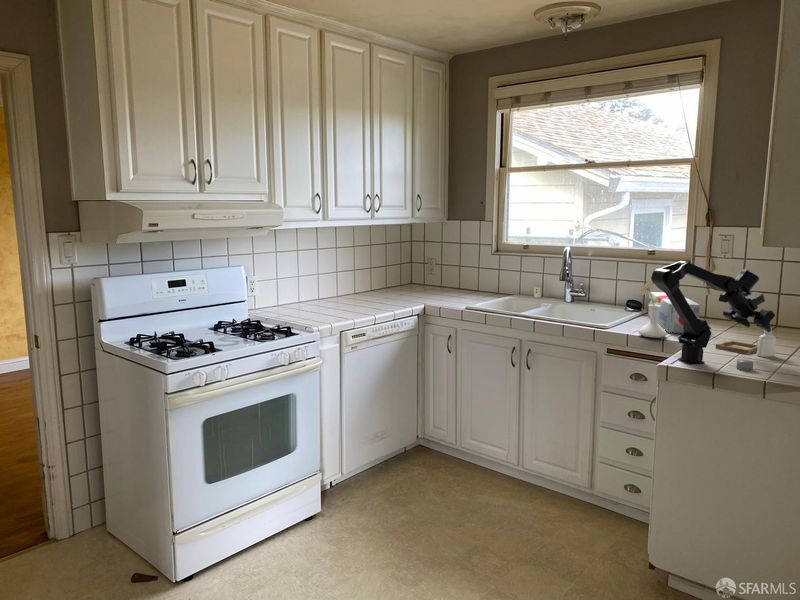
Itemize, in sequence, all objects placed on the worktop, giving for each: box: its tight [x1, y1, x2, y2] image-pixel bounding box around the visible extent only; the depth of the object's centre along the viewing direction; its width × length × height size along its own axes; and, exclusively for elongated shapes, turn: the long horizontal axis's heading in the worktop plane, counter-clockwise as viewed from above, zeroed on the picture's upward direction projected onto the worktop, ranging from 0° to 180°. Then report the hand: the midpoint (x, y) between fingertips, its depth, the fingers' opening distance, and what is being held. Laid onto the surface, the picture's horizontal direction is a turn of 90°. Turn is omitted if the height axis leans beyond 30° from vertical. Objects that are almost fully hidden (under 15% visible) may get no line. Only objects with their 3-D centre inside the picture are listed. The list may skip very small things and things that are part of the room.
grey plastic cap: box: [735, 358, 755, 372], centre depth 207 cm, size 5×5×3 cm
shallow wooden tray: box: [715, 340, 758, 355], centre depth 235 cm, size 12×12×2 cm
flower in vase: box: [638, 280, 668, 339], centre depth 255 cm, size 13×11×25 cm
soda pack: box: [647, 291, 701, 334], centre depth 280 cm, size 41×13×14 cm, turn 169°
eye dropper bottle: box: [756, 328, 777, 358], centre depth 223 cm, size 4×6×12 cm
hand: (759, 328), depth 222 cm, fingers open, 9 cm apart
